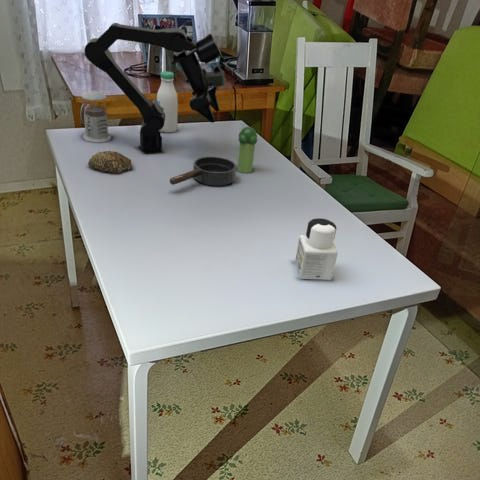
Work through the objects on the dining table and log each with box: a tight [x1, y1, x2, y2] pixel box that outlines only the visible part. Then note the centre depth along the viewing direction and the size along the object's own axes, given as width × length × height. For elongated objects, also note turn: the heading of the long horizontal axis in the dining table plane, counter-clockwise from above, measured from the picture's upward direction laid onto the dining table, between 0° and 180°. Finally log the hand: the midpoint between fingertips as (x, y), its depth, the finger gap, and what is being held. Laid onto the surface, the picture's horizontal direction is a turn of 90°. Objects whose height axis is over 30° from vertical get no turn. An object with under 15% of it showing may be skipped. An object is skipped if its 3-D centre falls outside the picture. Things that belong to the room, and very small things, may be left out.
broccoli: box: [237, 126, 258, 174], centre depth 168 cm, size 7×7×14 cm
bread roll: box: [87, 150, 133, 175], centre depth 163 cm, size 13×12×5 cm
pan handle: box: [169, 169, 202, 186], centre depth 154 cm, size 13×2×2 cm, turn 140°
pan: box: [192, 156, 237, 187], centre depth 163 cm, size 13×13×4 cm
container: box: [294, 217, 339, 281], centre depth 122 cm, size 8×8×13 cm
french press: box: [79, 60, 112, 143], centre depth 175 cm, size 10×12×25 cm
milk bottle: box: [156, 70, 179, 133], centre depth 191 cm, size 8×8×20 cm
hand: (215, 116), depth 173 cm, fingers open, 9 cm apart
